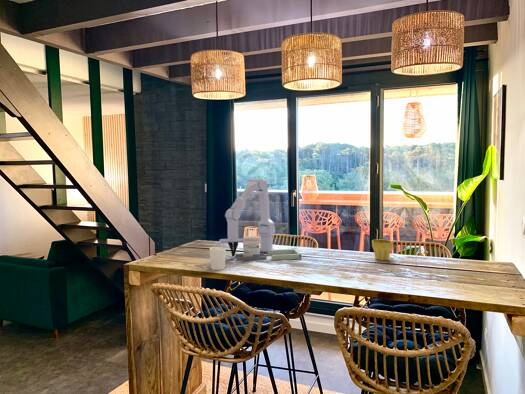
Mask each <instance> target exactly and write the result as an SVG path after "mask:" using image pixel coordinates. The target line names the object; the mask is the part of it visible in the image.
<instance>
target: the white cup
mask: <svg viewBox="0 0 525 394" xmlns="http://www.w3.org/2000/svg"><path fill="white" fill-rule="evenodd" d="M209 259H210V262H209V263H210V269H211V270H212V271H213V270H214V271H220V270H221V271H222V270H224V269H225V268H226V247H225V246H213V247H212V246H211V247H209Z"/></svg>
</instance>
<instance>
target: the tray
mask: <svg viewBox="0 0 525 394" xmlns="http://www.w3.org/2000/svg"><path fill="white" fill-rule="evenodd" d="M269 255H270V256H271V260H272V261H278V260H279V261H282V260H283V261H284V260H301V259H302V253H301V252H299V251H298V250H297V249H296V248H290V249H289V248H288V249H287V248H286V249H273V250H268V252H267V256H269Z"/></svg>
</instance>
